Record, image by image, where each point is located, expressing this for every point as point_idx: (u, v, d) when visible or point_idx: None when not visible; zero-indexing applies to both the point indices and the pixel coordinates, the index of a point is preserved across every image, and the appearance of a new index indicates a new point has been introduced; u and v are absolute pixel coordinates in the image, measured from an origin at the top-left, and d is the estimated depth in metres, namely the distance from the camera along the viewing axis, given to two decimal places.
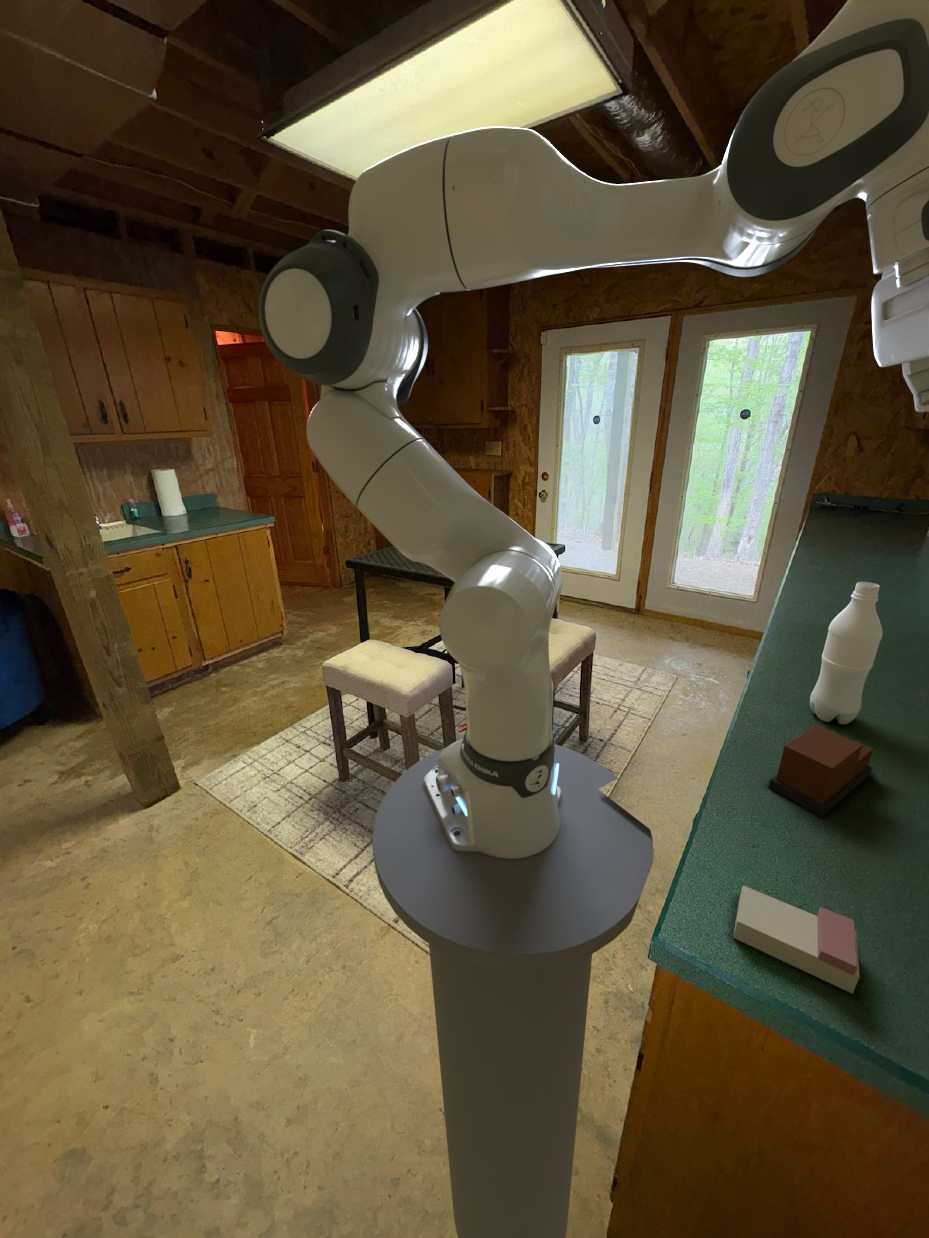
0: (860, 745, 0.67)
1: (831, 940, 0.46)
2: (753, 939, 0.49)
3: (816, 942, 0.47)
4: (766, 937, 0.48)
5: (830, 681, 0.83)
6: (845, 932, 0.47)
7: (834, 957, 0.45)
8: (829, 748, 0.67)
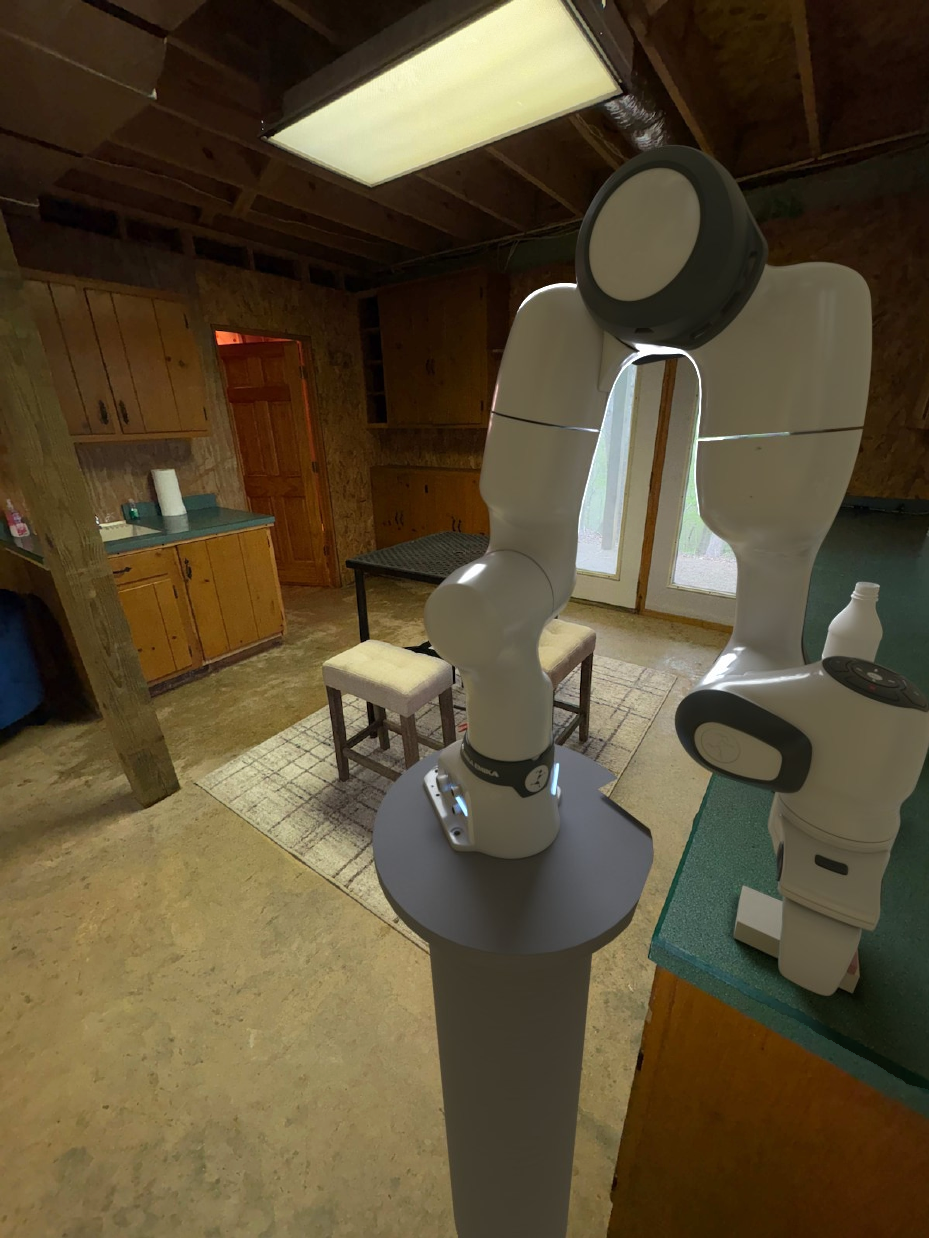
0: None
1: None
2: (753, 939, 0.49)
3: None
4: (766, 936, 0.48)
5: None
6: None
7: None
8: None
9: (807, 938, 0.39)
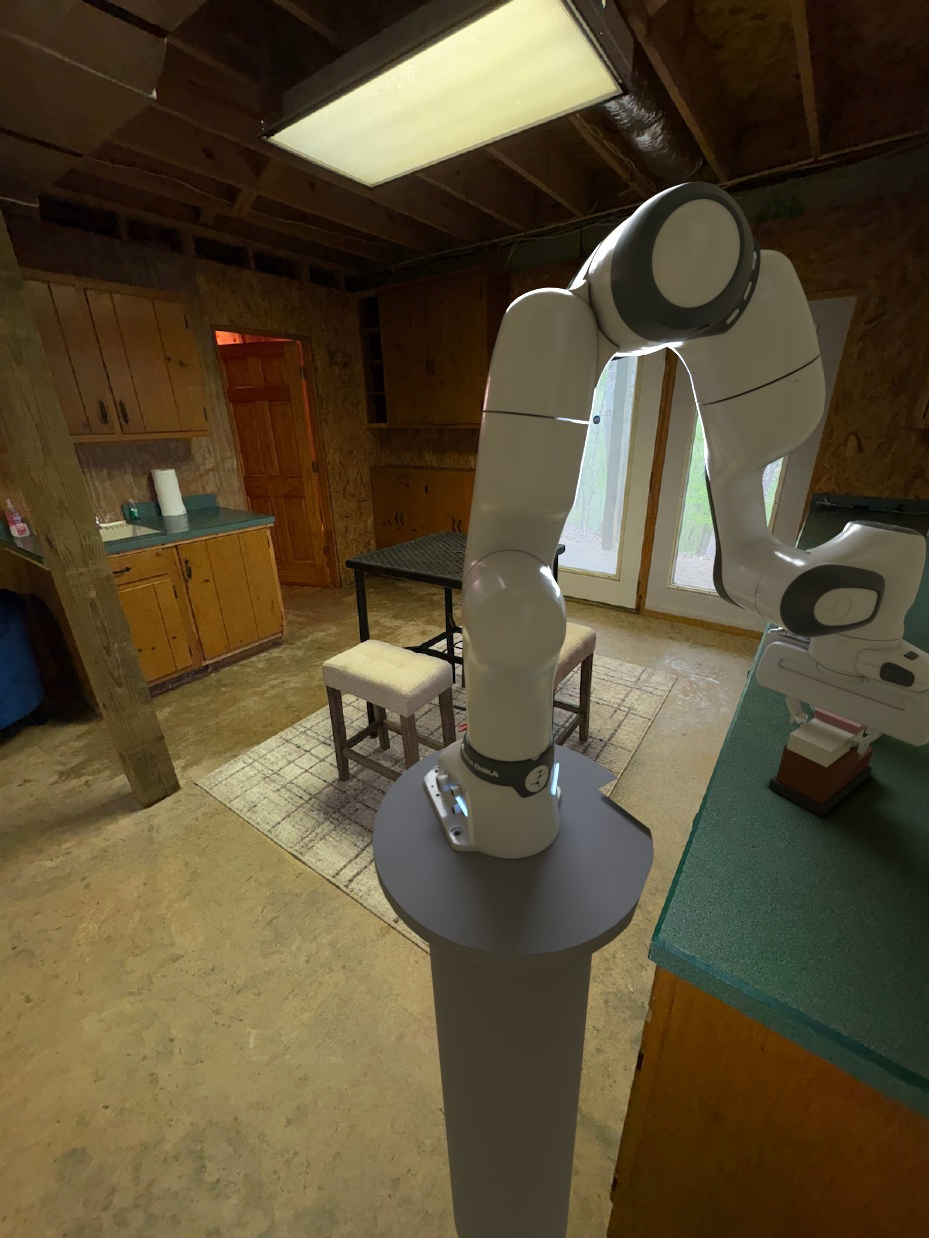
0: None
1: (847, 719, 0.67)
2: (834, 756, 0.64)
3: (841, 728, 0.67)
4: (840, 746, 0.64)
5: None
6: None
7: (862, 725, 0.66)
8: None
9: None
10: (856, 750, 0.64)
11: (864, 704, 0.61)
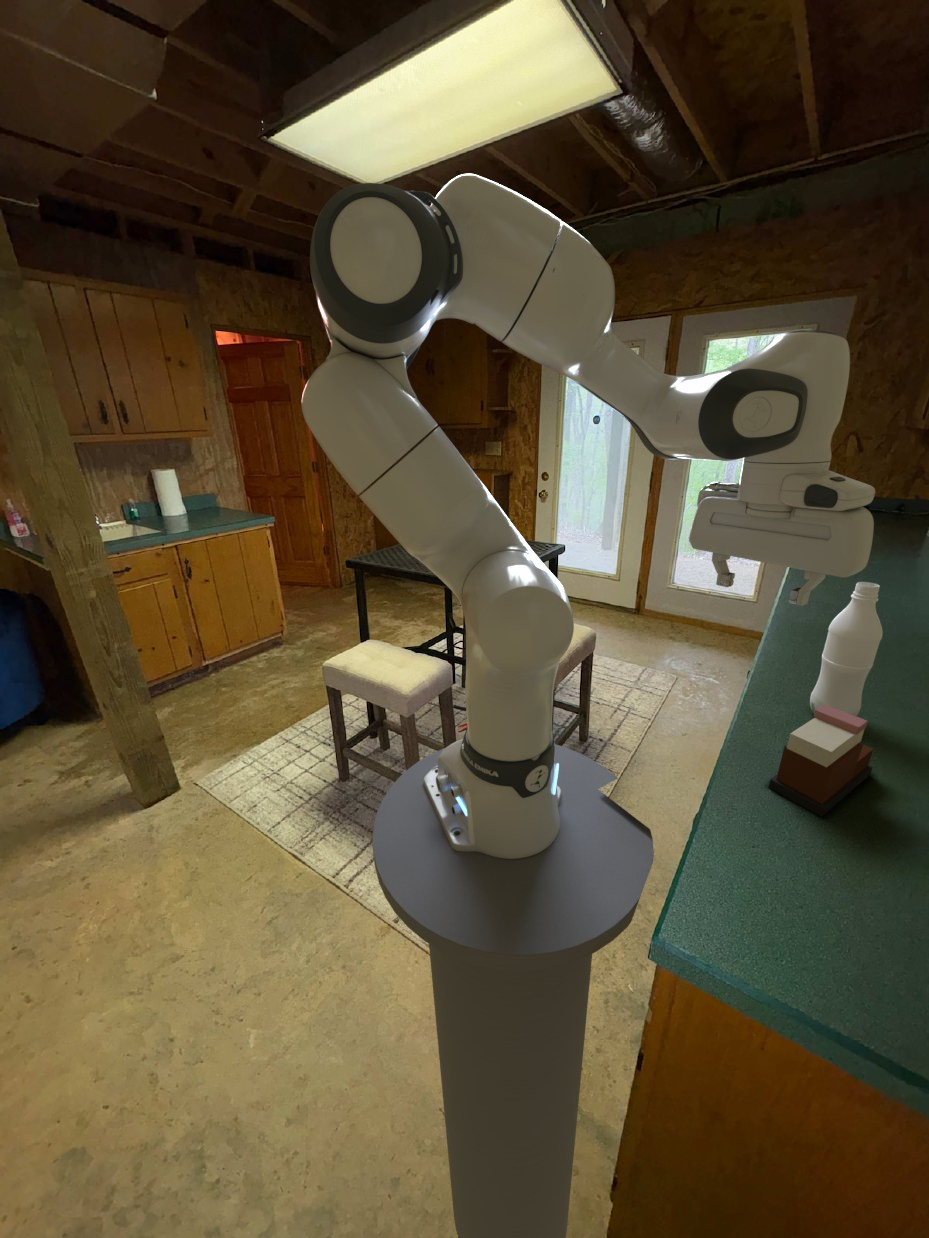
0: (860, 745, 0.67)
1: (847, 719, 0.67)
2: (834, 756, 0.64)
3: (841, 728, 0.67)
4: (840, 746, 0.64)
5: (830, 681, 0.83)
6: (837, 711, 0.69)
7: (862, 725, 0.66)
8: None
9: (863, 528, 0.52)
10: (795, 601, 0.59)
11: (792, 543, 0.57)
